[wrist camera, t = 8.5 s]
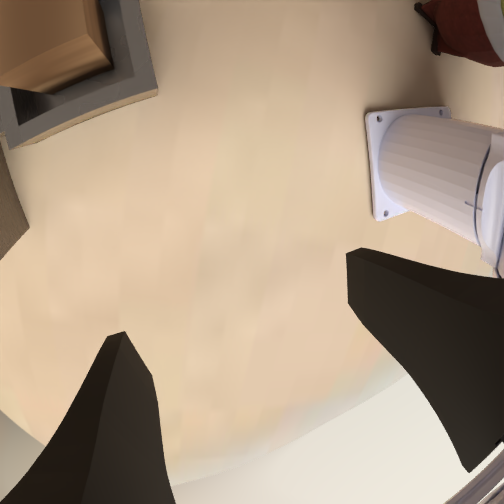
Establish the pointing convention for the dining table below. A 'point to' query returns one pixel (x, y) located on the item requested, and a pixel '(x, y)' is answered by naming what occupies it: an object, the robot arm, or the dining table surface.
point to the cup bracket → (74, 103)
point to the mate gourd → (467, 29)
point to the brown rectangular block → (52, 43)
